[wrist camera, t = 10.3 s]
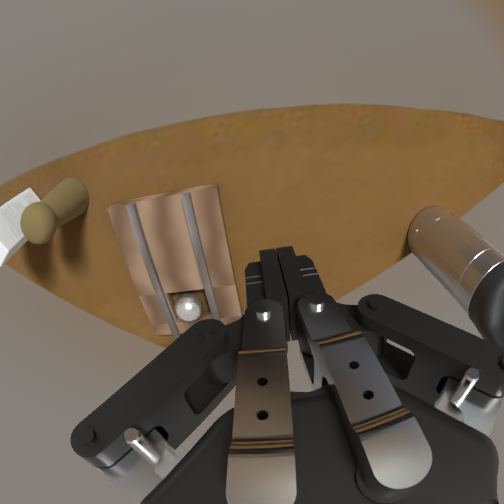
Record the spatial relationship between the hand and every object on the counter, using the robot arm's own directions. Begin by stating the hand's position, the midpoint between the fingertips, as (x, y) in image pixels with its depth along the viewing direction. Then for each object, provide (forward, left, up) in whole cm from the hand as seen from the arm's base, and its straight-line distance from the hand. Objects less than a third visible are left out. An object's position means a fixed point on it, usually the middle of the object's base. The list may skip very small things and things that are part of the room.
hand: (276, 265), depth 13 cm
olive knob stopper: (+26, 0, -25) cm, 36 cm away
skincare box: (+34, 0, -25) cm, 42 cm away
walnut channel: (+12, +14, -25) cm, 31 cm away
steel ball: (+12, +20, -23) cm, 33 cm away
